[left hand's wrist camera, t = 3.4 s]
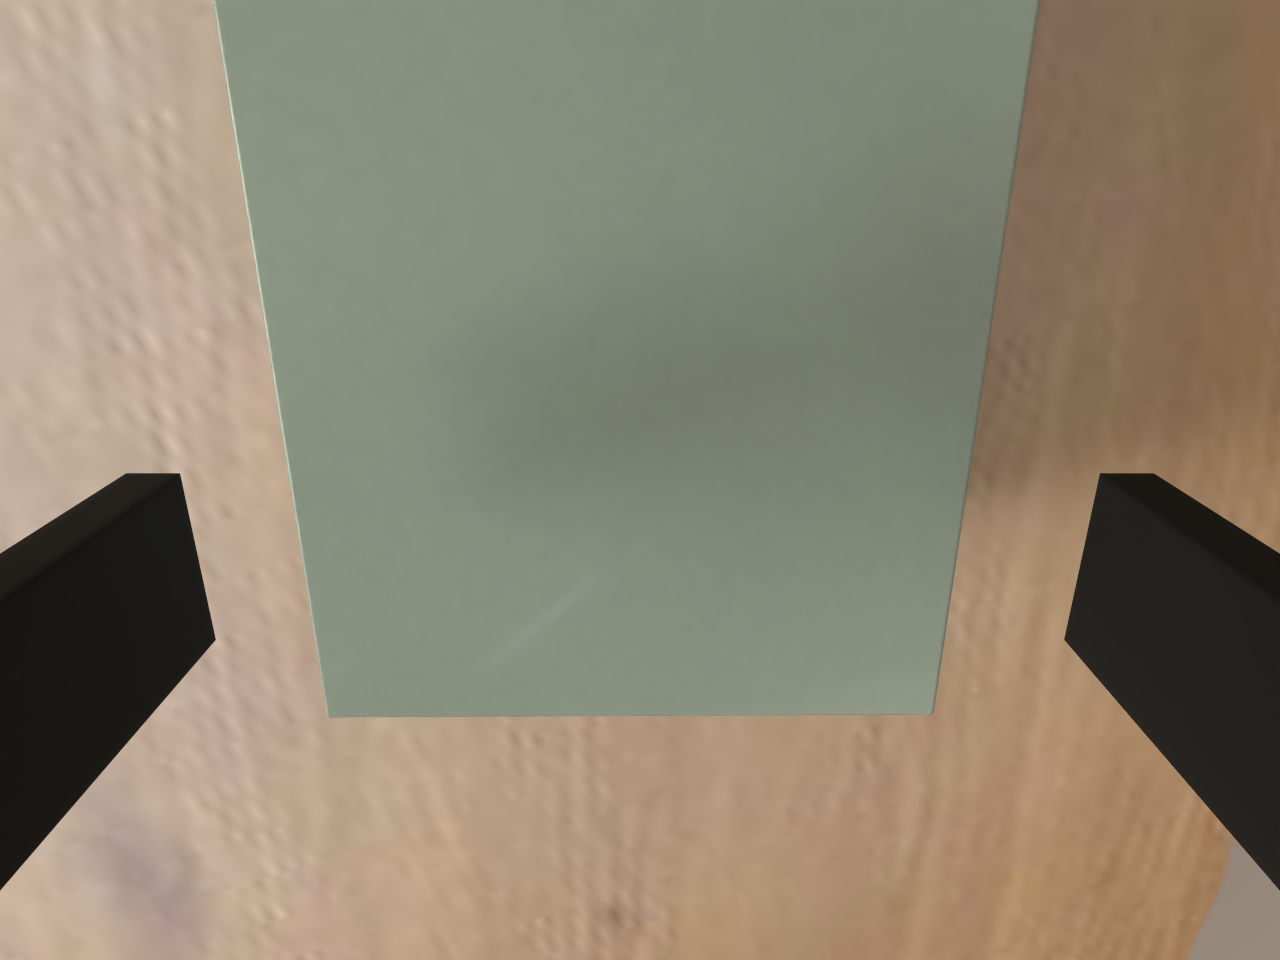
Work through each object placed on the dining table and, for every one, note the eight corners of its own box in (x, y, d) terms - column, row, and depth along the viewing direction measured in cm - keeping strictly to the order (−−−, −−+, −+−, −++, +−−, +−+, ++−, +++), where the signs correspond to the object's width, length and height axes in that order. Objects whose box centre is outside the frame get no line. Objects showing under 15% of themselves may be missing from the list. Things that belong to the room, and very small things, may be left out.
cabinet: (337, -400, 17) (64, -913, 9) (917, -397, 17) (1177, -903, 9) (428, 530, 24) (326, 719, 16) (834, 529, 24) (934, 716, 16)
